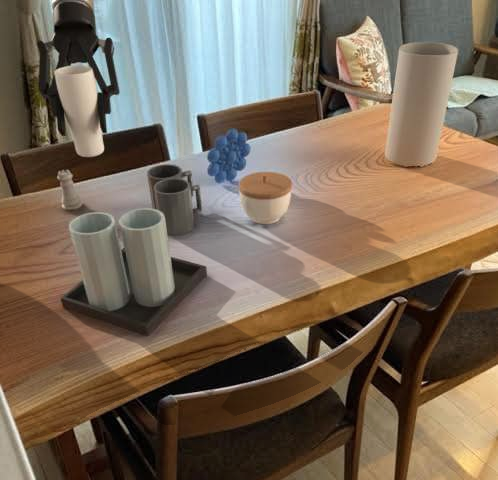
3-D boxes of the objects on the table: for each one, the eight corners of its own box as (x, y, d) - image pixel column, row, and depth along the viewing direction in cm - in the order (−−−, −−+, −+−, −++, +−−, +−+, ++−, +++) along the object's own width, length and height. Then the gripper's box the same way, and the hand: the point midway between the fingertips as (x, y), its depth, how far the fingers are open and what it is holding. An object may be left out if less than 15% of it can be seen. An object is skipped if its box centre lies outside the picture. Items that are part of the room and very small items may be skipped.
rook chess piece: (72, 213, 117) (63, 178, 111) (58, 208, 118) (48, 173, 113) (87, 204, 119) (79, 170, 114) (73, 200, 121) (64, 166, 116)
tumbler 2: (126, 302, 91) (109, 224, 82) (150, 281, 96) (136, 204, 86) (160, 313, 89) (147, 233, 79) (183, 291, 93) (173, 213, 84)
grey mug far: (162, 222, 112) (156, 181, 107) (147, 209, 117) (141, 170, 111) (202, 209, 116) (198, 169, 111) (186, 197, 121) (182, 158, 115)
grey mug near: (169, 239, 107) (163, 197, 101) (153, 224, 112) (147, 184, 106) (210, 225, 111) (207, 184, 105) (194, 211, 116) (190, 172, 110)
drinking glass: (66, 152, 104) (46, 70, 95) (97, 143, 108) (81, 62, 98) (84, 162, 100) (65, 77, 91) (115, 152, 104) (100, 69, 94)
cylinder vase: (440, 153, 136) (463, 44, 120) (429, 172, 128) (451, 58, 112) (392, 145, 141) (407, 40, 125) (378, 163, 132) (392, 52, 117)
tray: (62, 307, 91) (59, 298, 89) (128, 253, 103) (127, 244, 102) (148, 336, 84) (146, 326, 83) (207, 275, 97) (206, 266, 96)
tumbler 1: (81, 307, 91) (58, 228, 81) (107, 285, 95) (88, 208, 86) (114, 318, 88) (95, 238, 79) (138, 295, 93) (123, 217, 83)
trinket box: (284, 202, 118) (285, 161, 112) (296, 226, 109) (297, 183, 104) (236, 207, 116) (234, 166, 110) (244, 232, 108) (242, 189, 102)
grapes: (240, 168, 132) (238, 119, 125) (256, 177, 128) (255, 127, 120) (199, 180, 127) (195, 130, 120) (214, 191, 123) (210, 139, 115)
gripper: (130, 23, 105) (139, 136, 103) (26, 28, 103) (33, 143, 101) (124, -4, 97) (134, 118, 95) (12, 1, 96) (20, 125, 93)
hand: (82, 131), depth 98 cm, fingers closed on drinking glass, 7 cm apart
